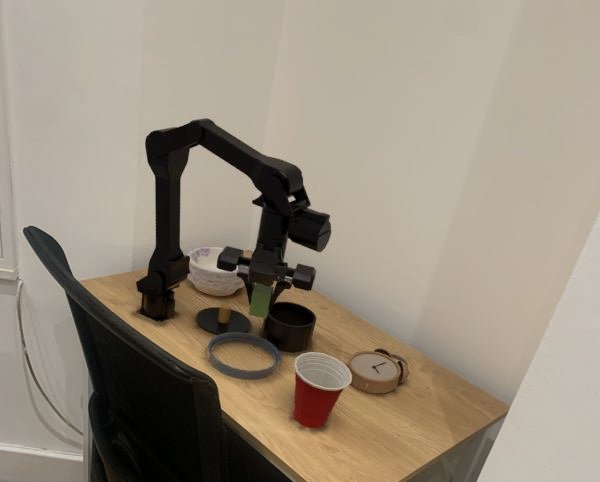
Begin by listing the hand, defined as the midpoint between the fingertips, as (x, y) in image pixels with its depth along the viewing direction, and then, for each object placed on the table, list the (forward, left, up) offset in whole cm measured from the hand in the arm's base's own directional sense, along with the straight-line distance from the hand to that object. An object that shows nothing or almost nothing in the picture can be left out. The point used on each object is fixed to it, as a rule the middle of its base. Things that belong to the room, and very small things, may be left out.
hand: (260, 307), depth 129 cm
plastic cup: (+19, -11, -12) cm, 26 cm away
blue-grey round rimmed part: (-1, -2, -12) cm, 12 cm away
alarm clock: (+24, +13, -12) cm, 30 cm away
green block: (0, 0, -1) cm, 1 cm away
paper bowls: (-23, +22, -12) cm, 34 cm away
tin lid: (-12, +8, -12) cm, 18 cm away
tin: (+2, +12, -12) cm, 17 cm away
